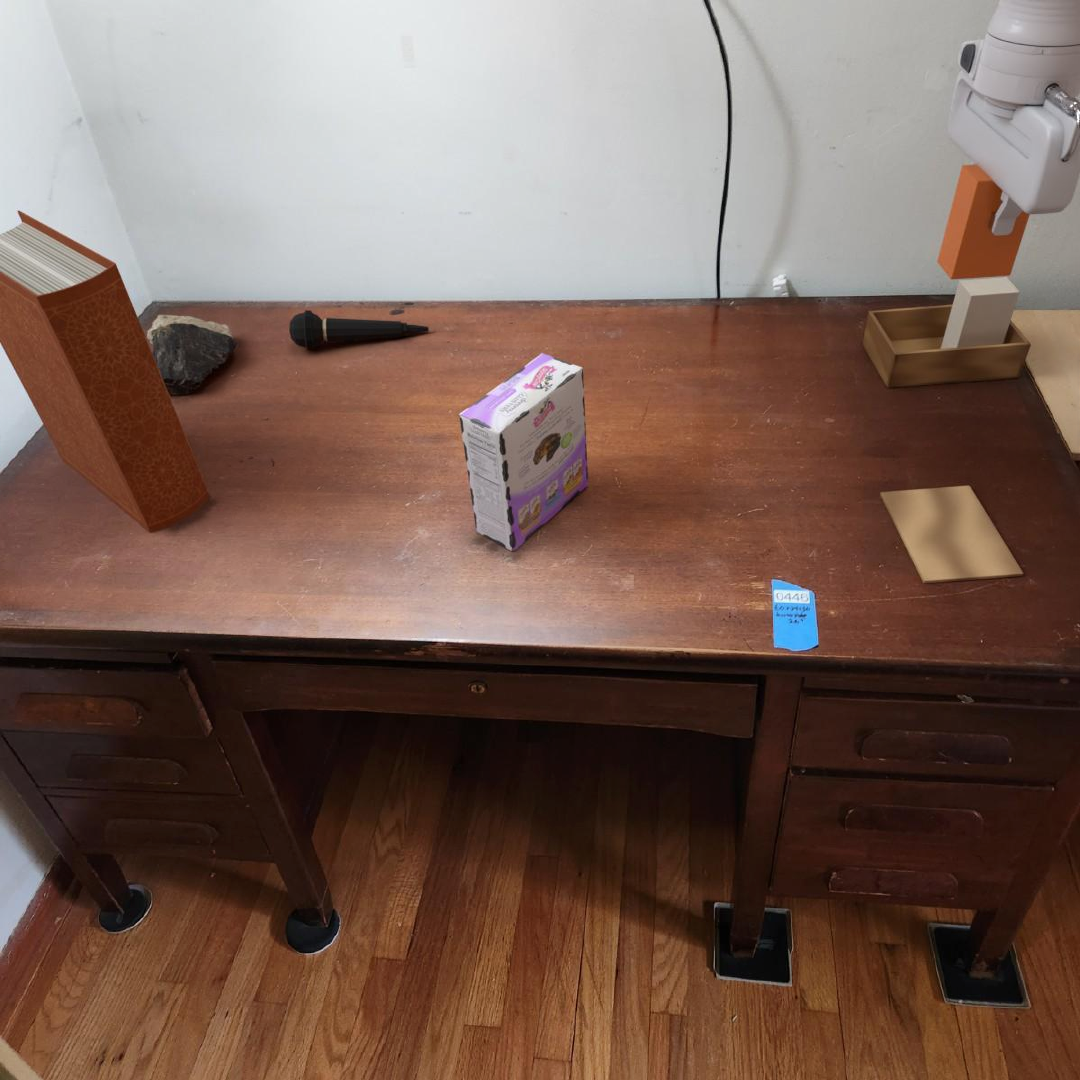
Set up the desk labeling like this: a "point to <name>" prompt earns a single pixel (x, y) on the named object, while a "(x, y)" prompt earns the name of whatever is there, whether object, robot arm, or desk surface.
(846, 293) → the desk surface
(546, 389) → the candy box
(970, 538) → the cork mat
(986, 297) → the block
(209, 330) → the mineral specimen
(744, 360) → the desk surface
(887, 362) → the wooden box
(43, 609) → the desk surface
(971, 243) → the block
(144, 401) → the book
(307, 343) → the microphone
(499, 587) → the desk surface
